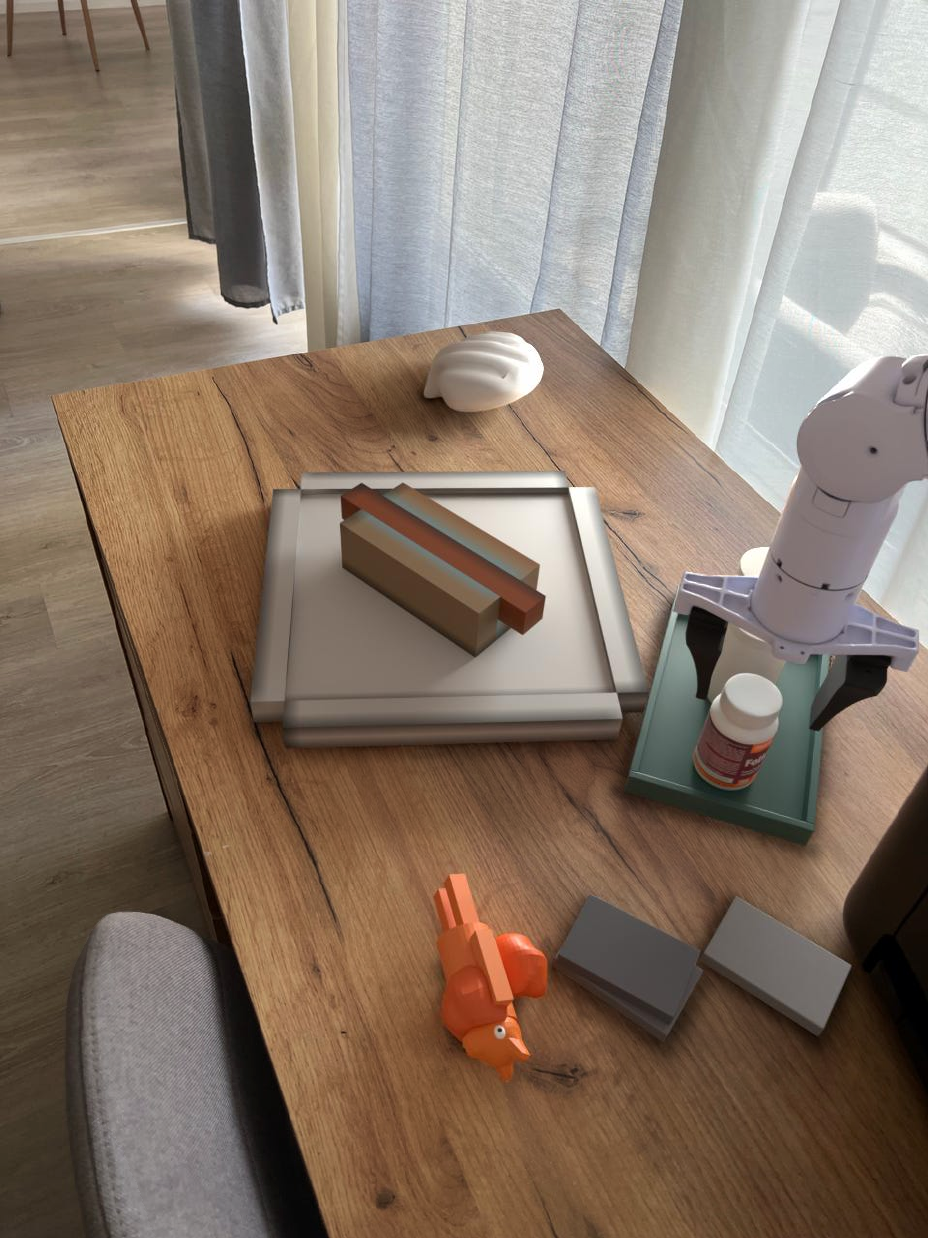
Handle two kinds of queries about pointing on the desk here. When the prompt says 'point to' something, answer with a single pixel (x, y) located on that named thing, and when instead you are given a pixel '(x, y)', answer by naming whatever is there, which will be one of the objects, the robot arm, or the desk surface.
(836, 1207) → the desk surface
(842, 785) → the desk surface
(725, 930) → the grey books
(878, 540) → the robot arm
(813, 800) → the tray
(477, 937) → the orange toy bird
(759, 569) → the white cylinders
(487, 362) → the shell shaped sculpture
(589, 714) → the silver square tray
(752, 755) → the pill bottle
